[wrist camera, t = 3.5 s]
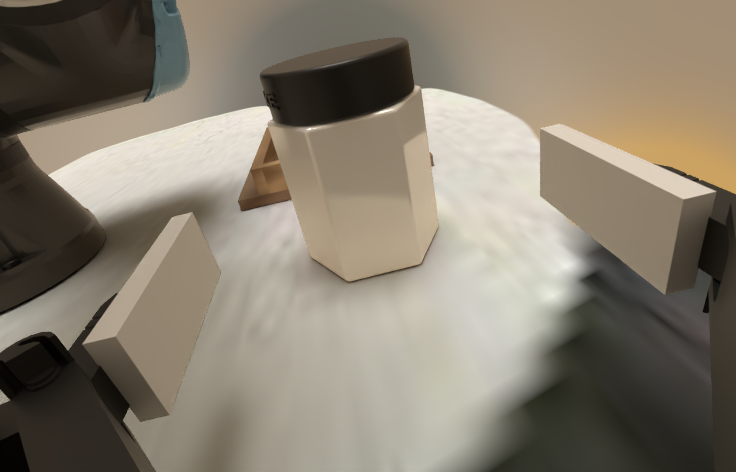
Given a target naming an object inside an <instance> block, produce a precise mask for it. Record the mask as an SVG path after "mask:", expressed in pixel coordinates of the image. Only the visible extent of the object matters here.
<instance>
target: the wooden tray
mask: <svg viewBox="0 0 736 472" xmlns="http://www.w3.org/2000/svg"><path fill="white" fill-rule="evenodd" d="M429 153H430V152H429ZM430 160H431V166H433V165H434V164H433V156H432V154H431V153H430ZM290 199H291V196H290V192H289V189H288V186H287V183H286V180H285V177H284V174H283V171H282V168H281V165H280V162H279V159H278V156H277V153H276V150H275V147H274V144H273V141H272V137H271V134H270V131H269V128H268V127H267V129H266V131H265V134H264V136H263V139H262V141H261V144H260V146H259V149H258V151H257V154H256V156H255V159H254V162H253V164H252V167H251V169H250V172H249V174H248V177H247V179H246V182H245V184H244V187H243V189H242V192H241V195H240V197H239V200H238V203H239V205H240V208H241V210H242V211H243V210H248V209H252V208H256V207H260V206H265V205H269V204H273V203H277V202H281V201H286V200H290Z"/></svg>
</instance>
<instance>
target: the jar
mask: <svg viewBox="0 0 736 472" xmlns="http://www.w3.org/2000/svg"><path fill="white" fill-rule="evenodd" d="M260 79H261V83H262V86H263V89H264V91H263V94H264V97H265V100H266V103H267V106H268V107H269V108H270V111H271V114H272V117H273V119H272V120H271V121H269V122H268V128H269V131H270V134H271V137H272V141H273V144H274V147H275V150H276V153H277V156H278V159H279V162H280V165H281V168H282V171H283V174H284V177H285V180H286V183H287V186H288V189H289V192H290V196H291V199H292V202H293V205H294V208H295V211H296V214H297V217H298V220H299V223H300V226H301V229H302V232H303V235H304V238H305V241H306V244H307V248H308V251H309V254H310V256H311V257H312V258H313V259H315V260H316V261H318V262H319V263H321V264H322V265H324V266H325V267H327V268H328V269H330V270H331V271H333V272H334V273H336V274H337V275H339V276H340V277H342V278H343V279H345V280H346V281H349V282H350V281H354V280H358V279H362V278H366V277H370V276H374V275H378V274H383V273H387V272H391V271H395V270H399V269H403V268H407V267H411V266H415V265H419V264H421V262H422V260H423V258H424V256H425V254H426V252H427V250H428V247H429V245H430V243H431V241H432V239H433V237H434V235H435V232H436V230H437V228H438V226H439V221H438V214H437V206H436V198H435V191H434V183H433V176H432V168H431V160H430V153H429V145H428V138H427V130H426V122H425V115H424V107H423V100H422V92H421V88H420V87H419V86H414V80H413V74H412V66H411V58H410V51H409V44H408V41H407V40H406V39H404V38H385V39H377V40H372V41H365V42H360V43H355V44H350V45H345V46H340V47H335V48H331V49H327V50H323V51H319V52H315V53H311V54H307V55H304V56H300V57H297V58H294V59H290V60H287V61H284V62H282V63H278V64H276V65H273V66H271V67H268V68H266V69H265V70H263V71H262V72H261V73H260Z"/></svg>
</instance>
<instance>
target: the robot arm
mask: <svg viewBox="0 0 736 472" xmlns="http://www.w3.org/2000/svg"><path fill="white" fill-rule="evenodd" d="M189 71H190V61H189V52H188V46H187V40H186V36H185V31H184V26H183V23H182V19H181V15H180V12H179V10H178V8H177V7H176V0H0V312H2V311H5V310H7V309H9V308H11V307H13V306H16V305H18V304H20V303H22V302H24V301H26V300H28V299H30V298H32V297H34V296H35V295H37V294H39V293H41V292H43V291H45V290H46V289H48V288H50V287H51V286H53V285H55V284H56V283H58V282H60V281H61V280H63V279H64V278H66V277H67V276H69V275H70V274H72V273H73V272H75V271H76V270H77V269H79V268H80V267H81V266H83V265H84V264H85V263H86V262H87V261H89V260H90V259H91V258H92V257H93V256H94V255H95V254H96V253H97V252H98V251H99V249H100V248H101V247H102V245H103V244H104V241H105V238H106V235H105V232H104V231H103V229H102V228H101V226H100V224H99V223H98V221H97V219H96V218H95V216H94V215H93V214H92V213H91V212H90V211H89V210H88V209H86V208H84V207H83V206H82V205H81V204H80V203H79V202H78V201H77V200H75V199H74V198H73V197H72V196H71V195H70V194H69V193H68V192H67V191H65V190H64V189H63V188H62V187H61V186H60V185H58V184H57V183H56V182H55V181H54V180H53V179H51V178H50V177H49V176H48V175H47V174H46V173H44V172H43V171H42V170H41V169H40V168H39V167H38V166H37V165H36V164H35V163H34V161H33V160H32V158H31V157H30V156H29V154H28V152H27V151H26V149H25V148H24V146H23V145H22V143H21V142H20V140H19V138H18V136H17V134H19V133H23V132H27V131H30V130H34V129H38V128H42V127H46V126H50V125H54V124H58V123H62V122H66V121H70V120H74V119H78V118H82V117H86V116H90V115H94V114H98V113H102V112H106V111H110V110H114V109H118V108H121V107H126V106H130V105H134V104H138V103H142V102H149V101H151V100H152V99H153V98H154V97H157V96H160V95H163V94H166V93H169V92H171V91H175V90H177V89H179V88H181V87H182V86H183V85H184V84H185V83H186V81H187V79H188V76H189ZM540 196H541V197H542V198H543V199H545V200H546V201H547V202H549V203H550V204H551V205H552V206H554V207H555V208H556V209H557V210H559V211H560V212H561V213H562V214H564V215H565V216H566V217H567V218H569V219H570V220H571V221H572V222H574V223H575V224H576V225H578V226H579V227H580V228H581V229H583V230H584V231H585V232H586V233H588V234H589V235H590V236H591V237H593V238H594V239H595V240H596V241H598V242H599V243H600V244H601V245H603V246H604V247H605V248H606V249H608V250H609V251H610V252H612V253H613V254H614V255H615V256H617V257H618V258H619V259H620V260H622V261H623V262H624V263H625V264H627V265H628V266H629V267H630V268H632V269H633V270H634V271H635V272H637V273H638V274H639V275H641V276H642V277H643V278H644V279H646V280H647V281H648V282H649V283H651V284H652V285H653V286H654V287H656V288H657V289H658V290H659V291H661V292H662V293H663V294H664V295H667V294H671V293H676V292H680V291H684V290H688V289H692V288H694V286H695V281H696V277H697V273H698V268H700V269H701V270H703V271H704V272H706V273H707V274H709V275H710V276H712V277H711V281H710V285H709V289H708V293H707V297H706V301H705V305H704V309H703V312H704V313H709V319H710V351H711V383H712V414H713V446H714V472H736V194H734V193H731V192H729V191H727V190H724V189H722V188H719V187H717V186H715V185H712V184H710V183H707V182H705V181H703V180H701V181H699V179H698V178H696V177H693V176H691V175H687V174H686V173H684V172H682V171H679V170H677V169H674V168H672V167H668V166H662V165H657V164H652V163H650V162H647V161H645V160H643V159H641V158H638V157H636V156H634V155H632V154H629V153H627V152H625V151H622V150H620V149H618V148H615V147H613V146H610V145H608V144H606V143H604V142H602V141H599V140H597V139H595V138H592V137H590V136H588V135H586V134H583V133H581V132H579V131H576V130H574V129H572V128H569V127H567V126H565V125H563V124H557V125H553V126H549V127H544V128H541V129H540ZM220 274H221V272H220V270H219V268H218V265H217V263H216V261H215V259H214V257H213V255H212V253H211V250H210V248H209V246H208V244H207V242H206V240H205V238H204V236H203V233H202V231H201V229H200V227H199V225H198V223H197V221H196V218H195V216H194V214H193V212H191V213H186V214H182V215H178V216H174V217H172V218H171V219H170V221H169V222H168V224H167V225H166V226H165V228H164V229H163V231H162V232H161V233H160V235H159V236H158V238H157V239H156V241H155V242H154V243H153V245H152V246H151V248H150V249H149V250H148V252H147V253H146V255H145V256H144V258H143V259H142V260H141V262H140V263H139V265H138V266H137V267H136V269H135V270H134V272H133V273H132V275H131V276H130V277H129V279H128V280H127V282H126V283H125V284H124V286H123V287H122V289H121V290H120V292H119V293H117V294H115V295H114V296H112V297H111V298H110V299H109V300H108V301H106V302H105V303H104V304H103V305H102V306H101V307H100V308H99V310H98V311H97V312H96V314H95V315H94V316H93V320H91V321H90V322H89V323H88V325H87V326H86V327H85V330H83V331H82V333H81V334H80V335H79V337H78V338H77V340H76V341H75V342H74V344H73V345H72V346H71V348H70V349H69V350H67V349H66V348H65V347H64V345H63V344H62V343H61V342H60V340H59V339H58V338H57V336H56V335H55V334H53V333H52V332H41V333H37V334H34V335H31V336H28V337H26V338H24V339H22V340H20V341H18V342H16V343H14V344H13V345H11V346H9V347H8V348H6V349H5V350H3V351H2V352H1V353H0V390H1V391H2V392H3V393H4V394H5V395H6V396H7V397H8V398H9V399H10V401H8V402H6V403H4V404H1V405H0V472H156V471H155V469H154V468H153V466H152V465H151V463H150V461H149V460H148V458H147V457H146V455H145V453H144V452H143V450H142V449H141V447H140V446H139V444H138V442H137V441H136V439H135V438H134V436H133V434H132V433H131V431H130V430H129V428H128V427H127V426H126V424H125V423H124V422H123V419H124V417H125V415H126V413H127V410H128V408H129V407H130V409H131V410H132V411H133V413H134V414H135V415H136V417H137V418H138V419H139V421H140V422H142V421H146V420H150V419H154V418H158V417H163V416H167V415H170V412H171V409H172V407H173V404H174V401H175V398H176V396H177V393H178V390H179V387H180V384H181V382H182V379H183V376H184V373H185V371H186V368H187V365H188V362H189V360H190V357H191V354H192V351H193V349H194V346H195V343H196V340H197V338H198V335H199V332H200V329H201V326H202V324H203V321H204V318H205V315H206V313H207V310H208V307H209V304H210V302H211V299H212V296H213V293H214V291H215V288H216V285H217V282H218V280H219V277H220Z"/></svg>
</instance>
